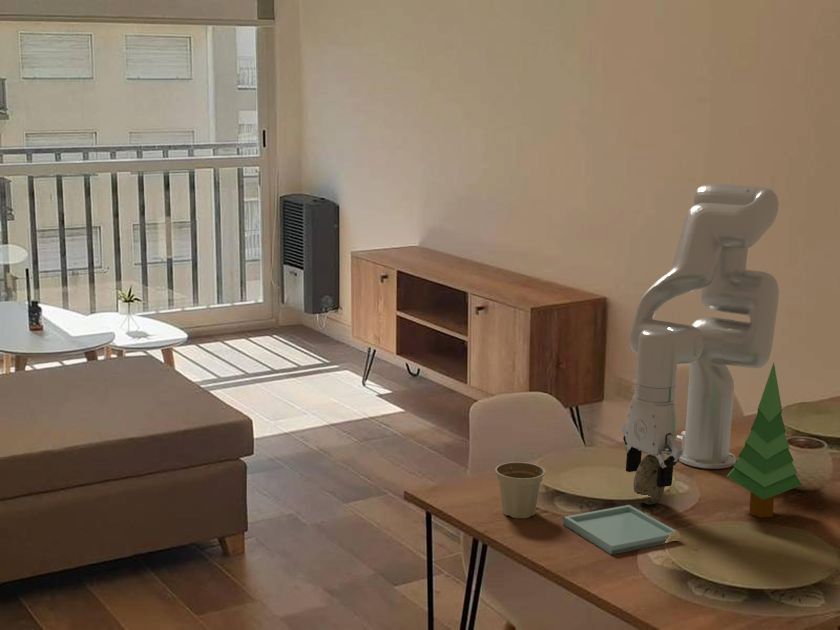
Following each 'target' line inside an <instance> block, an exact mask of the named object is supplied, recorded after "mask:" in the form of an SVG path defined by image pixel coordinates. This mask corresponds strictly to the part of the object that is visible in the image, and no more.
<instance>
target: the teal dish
mask: <svg viewBox="0 0 840 630" xmlns="http://www.w3.org/2000/svg"><path fill="white" fill-rule="evenodd" d="M562 525H563V526H564V527H566V528H568V529H569V530H571V531H572V532H574V533H576V534H577V535H579V536H581V537H582V538H584V539H585V540H587V541H589V542H590V543H591V544H593V545H595V546H597V547H598V548H600V550H601V549H602V550H603V551H604V552H606V553H608V554H609V555H610V556H611V555H617V554H621V553H626V552H631V551H635V550H641V549H645V548H650V547H656V545H657V546H661V545H660V544H662V545H664V544H663V543H665V541H666V539H667V538H668V537H669V535H670V534H671V533H672V532H675V531H677V530H676V529H674V528H673V527H670V526H668V525H667V524H665V523H663V522H661V521H659V520H658V519H655V518H654V517H652V516H651V515H648V514H647V513H645V512H643V511H641V510H639V509H638V508H636V507H634V506H633V505H631V504H626V505H622V506H621V505H620V506H615V507H610V508H604V509H599V510H593V511H589V512H582V513H577V514H572V515H567V516H563V522H562Z"/></svg>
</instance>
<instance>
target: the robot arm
mask: <svg viewBox="0 0 840 630" xmlns="http://www.w3.org/2000/svg"><path fill="white" fill-rule="evenodd" d="M778 211H779V199H778V196H777V194H776V192H775V191H774V190H773V189H771V188H769V187H764V186H755V185H754V186H753V185H743V184H742V185H740V184H731V183H730V184H729V183H708V184H702V185H700V186H699V187H697V188H696V190H695V192H694V195H693V205H692V206H691V207H690V208H689V209H688V210H687V212H686V214H685V217H684V221H683V224H682V228H681V231H680V235H679V239H678V241H677V242H678V243H677V246H676V250H675V252H674V256H673V260H672V264H671V267H670V268H669V271H668V272H667V273H665V274H664V275H662V276H661V277H660V278H659V279H657V280H656V281H655V282H654V283H653V284H652V285H651V286H649V287H648V289H647V290H646V291H645V292H644V294H643V295H642V296H641V298H640V299H639V301H638V304H637V306H636V308H635V313H634V316H633V320H632V323H631V328H630V332H629V339H628V340H629V341H628V342H629V346H630V348H631V351H632V352H633V353H634V354H636V355H637V358H636V371H635V373H636V374H635V386H634V395H632V397H631V401H630V404H629V408H628V414H627V420H626V424H623V425H622V426H621V430H622V436H623V438H622V439H623V441H624V443H625V447H624V450H625V451H626V461H625V471H626V473H633V472H636V471H637V469H638V466H639V464H640V462H641V461H642V453H645V454H647V455H652V456H656V457H657V458H658V460H659V463H660V465H661V466H660V467H658V475H657V486H658V487H671V486H672V484H673V477H674V467H676V465H677V464H678V462H681V463H682V464H685V465H687V466H690V467H694V468H700V469H708V470H718V469H720V470H721V469H727V468H730V467H733V466H734V464H735V463H736V462H737V460H736V459H737V458H736V456H735V454H734V453H732V452H730V443H731V442H730V441H731V430H732V428H731V427H732V417H733V406H734V405H733V404H734V392H735V383H734V379H733V375H732V373H731V372H730V370H729V368H728V366H732V367H740V368H745V369H755V370H757V369H758V370H759V369H762V368H764V367H765V366H766V365H767V364H768V362H769V360H770V358H771V353H772V350H773V343H774V336H775V334H774V333H775V326H776V320H777V314H778V307H779V306H778V305H779V284H778V282H777V278H776V277H775V276H774V275H773V274H771V273H769V272H766V271H758V270H750V269H747V260H748V251H749V248H752V247H753V246H754V245H755V244H757V242H758V241H759V240H760V239H761V238H762V236H763V235H764V234H765V233H766V232H767V231H768V230H769V229H770V228H771V226H772V225H773V224H774V222H775V220H776V218H777V216H778ZM697 290H701V291H700V292H701V295H700V296H701V298H700V299H701V300H700V301H701V304H702V305H703V306H704V308H707V309H708V310H711V311H715V312H720V313H727V314H735V315H742V316H747V317H749V319H750V320H749V321H750V322H749V321H741V320H735V319H730V318H729V319H728V318H721V317H715V316H713V317H711V316H710V317H709V316H707V317H699V318H697V319H695V320H694V321H693V322H692V323H691V324H690V325H689V324H684V323H676V322H670V321H663V320H656V319H655V316H656V314H657V313H658V311H659V310H660V309H661V307H662V306H663V305H664V304H665V303H667V302H668V301H670V300H672V299H674V298H676V297H679V296H683V295H684V294H687V293H692V292H694V291H697ZM684 364H689V365H688V366H689V375H688V389H687V403H686V419H685V430H683V431H681V432H680V434H677V433H676V432H677V429H676V428H677V427H676V426H677V425H676V424H677V423H676V421H677V420H676V419H677V417H676V416H677V415H676V414H677V413H676V406H675V397H676V396H675V395H676V394H675V393H676V384H677V383H676V381H677V369H678V368H677V367H678V365H684ZM727 365H728V366H727ZM676 434H677V435H676ZM678 442H679V443H681V445H680V444H679V443H678ZM664 456H666V459H665V457H664Z"/></svg>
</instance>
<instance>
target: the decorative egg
mask: <svg viewBox="0 0 840 630" xmlns="http://www.w3.org/2000/svg"><path fill="white" fill-rule="evenodd" d="M660 466H661V465H660V463H659V460H658V457H657V455H656V456H652V455H649V454H647V455H646V456H644V457H643V458H642V459H641V462H640V464H639V466H638V469H637V471H635V474H634V478H633V479H634V480H633V492H634V493H635V492H636V493H637V494H641V495H648V496H651V497H650V498H647V499H643V500H641V501H640V503H642V504H644V503H645V505H653V504H656V503H657V502H659V501H660V500H661V498H662V497H663V495H664V492H665V487H658V486H657V475H658V467H660Z"/></svg>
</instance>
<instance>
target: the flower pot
mask: <svg viewBox="0 0 840 630" xmlns="http://www.w3.org/2000/svg"><path fill="white" fill-rule="evenodd" d="M494 471H495V473H496V474H497V480H498V482H499V491H500V498H501V507H502V508H501V509H502V513H503V514H504V516H506V517H507V516H510V517H511V518H513V519H529V518H530V517H531V516H534V515H536V512H537V503H538V499H539V492H540V487H541V483H542V481H543V477H544V476H545V474H546V469H545V468H544V467H542V466H540V465H538V464H535V463H531V462H525V461H524V462H522V461H511V462H509V461H508V462H505V463H501V464H498V465H497V466H496V467H495V469H494Z"/></svg>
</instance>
